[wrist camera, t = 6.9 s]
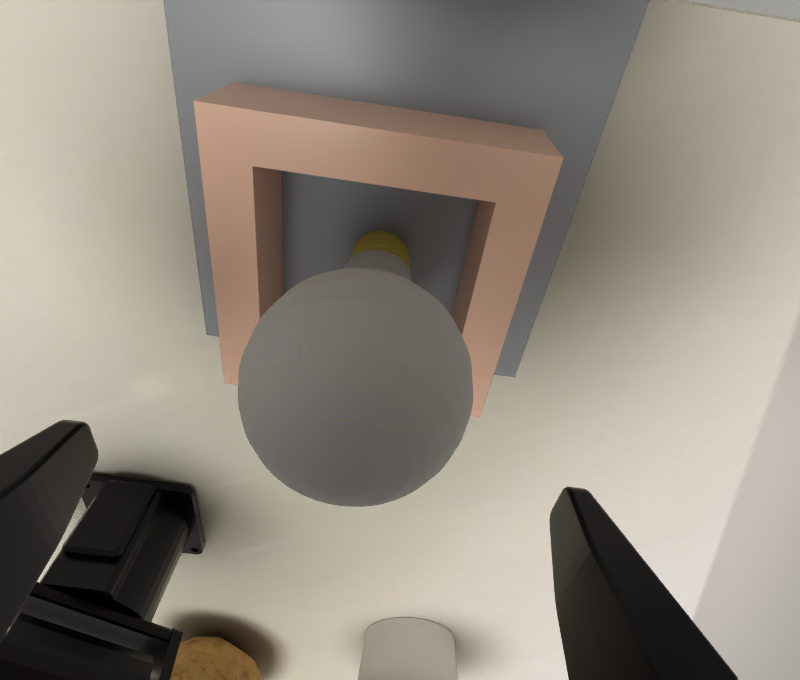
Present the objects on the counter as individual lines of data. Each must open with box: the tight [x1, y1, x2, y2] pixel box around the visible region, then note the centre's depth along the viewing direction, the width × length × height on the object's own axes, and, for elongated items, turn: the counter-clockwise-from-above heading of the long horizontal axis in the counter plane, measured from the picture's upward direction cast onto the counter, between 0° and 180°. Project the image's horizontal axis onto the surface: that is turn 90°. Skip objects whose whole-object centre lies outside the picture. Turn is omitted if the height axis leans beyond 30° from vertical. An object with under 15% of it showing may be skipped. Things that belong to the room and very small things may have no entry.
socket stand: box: [164, 0, 800, 417], centre depth 12 cm, size 17×13×10 cm
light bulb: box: [238, 230, 473, 507], centre depth 13 cm, size 5×6×10 cm
